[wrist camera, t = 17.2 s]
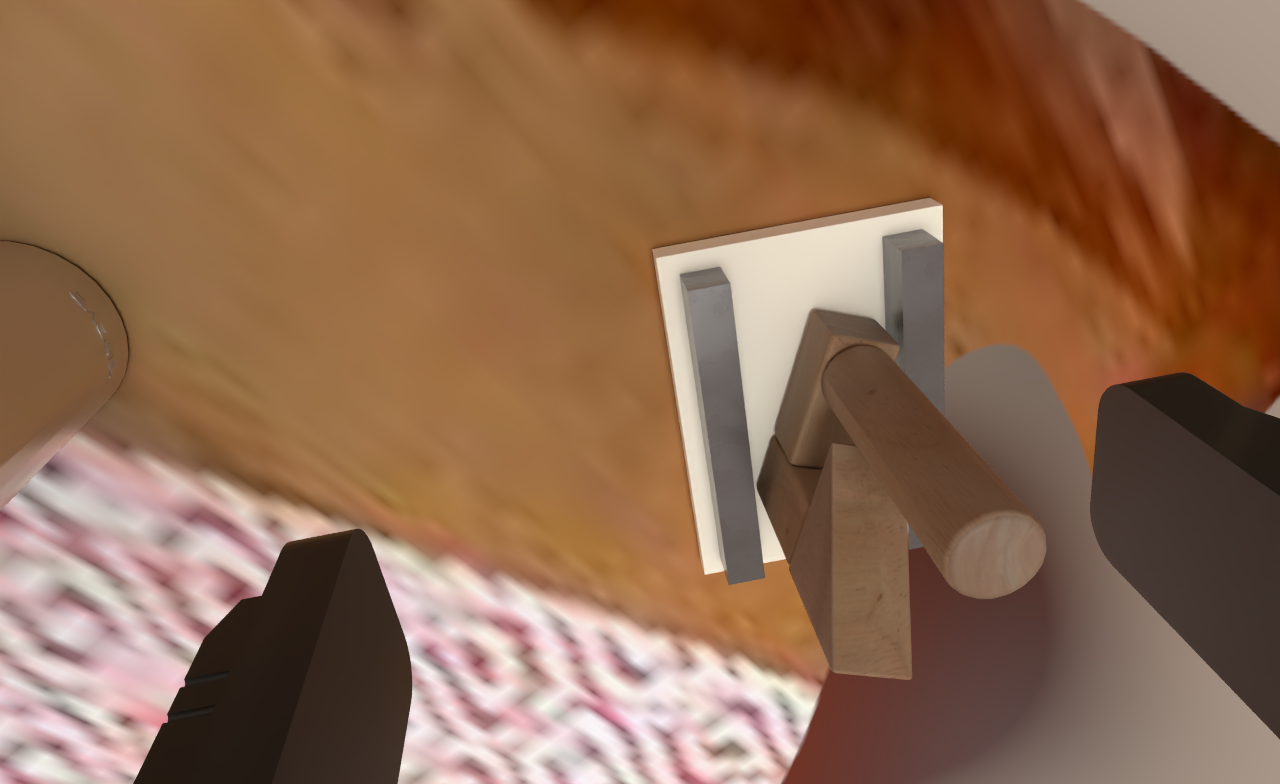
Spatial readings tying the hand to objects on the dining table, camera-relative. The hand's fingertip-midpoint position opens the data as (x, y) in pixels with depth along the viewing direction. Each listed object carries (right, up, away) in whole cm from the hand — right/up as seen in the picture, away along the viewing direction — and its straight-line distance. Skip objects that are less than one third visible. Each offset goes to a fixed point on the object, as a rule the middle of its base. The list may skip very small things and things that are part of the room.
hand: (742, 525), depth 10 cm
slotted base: (+8, +1, +38) cm, 39 cm away
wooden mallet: (+8, +1, +37) cm, 38 cm away
